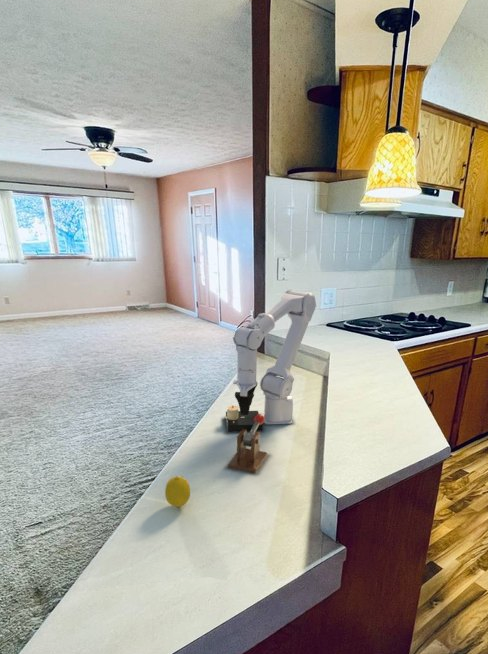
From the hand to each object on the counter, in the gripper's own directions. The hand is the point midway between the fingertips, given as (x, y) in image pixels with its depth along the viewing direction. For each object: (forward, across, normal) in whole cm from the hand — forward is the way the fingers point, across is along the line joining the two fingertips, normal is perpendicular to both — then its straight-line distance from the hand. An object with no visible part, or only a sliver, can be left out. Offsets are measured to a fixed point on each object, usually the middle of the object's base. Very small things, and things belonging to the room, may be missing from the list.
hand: (246, 409), depth 128 cm
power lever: (+1, +13, +4) cm, 14 cm away
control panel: (+8, -6, -2) cm, 10 cm away
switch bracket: (+8, +18, +3) cm, 20 cm away
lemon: (+8, +39, -10) cm, 42 cm away
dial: (+6, -5, -5) cm, 9 cm away
